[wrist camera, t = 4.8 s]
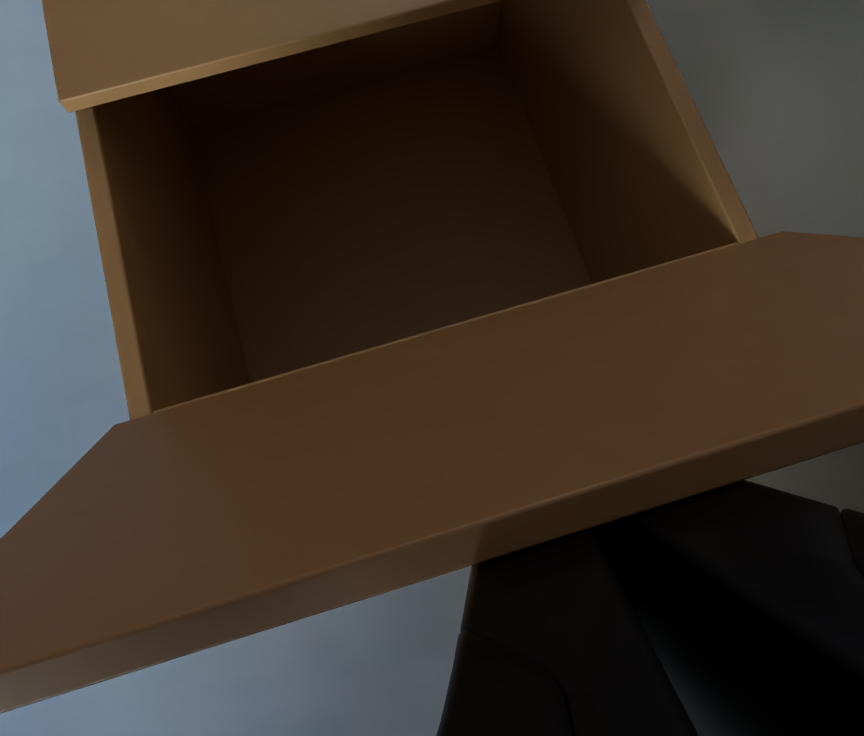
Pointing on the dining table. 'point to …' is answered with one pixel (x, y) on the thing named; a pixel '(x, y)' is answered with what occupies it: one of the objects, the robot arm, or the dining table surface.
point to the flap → (432, 458)
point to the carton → (370, 171)
